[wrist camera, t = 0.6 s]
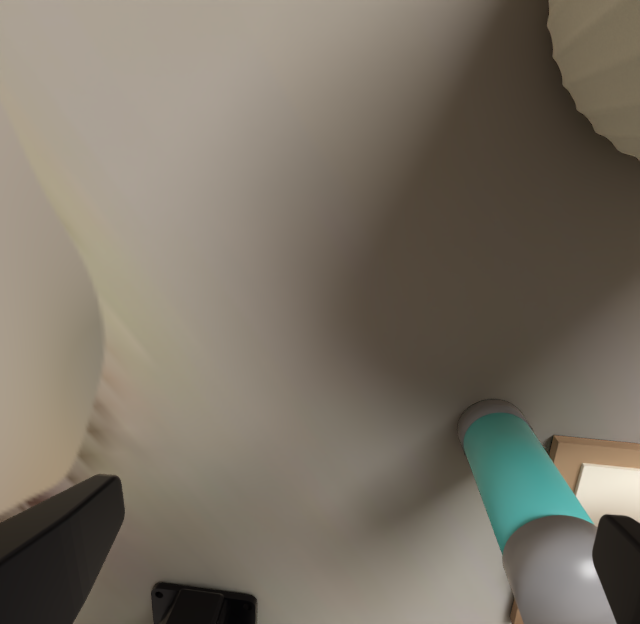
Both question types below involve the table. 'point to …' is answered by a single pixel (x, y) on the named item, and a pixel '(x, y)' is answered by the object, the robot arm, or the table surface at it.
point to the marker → (533, 518)
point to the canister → (601, 64)
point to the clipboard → (597, 479)
